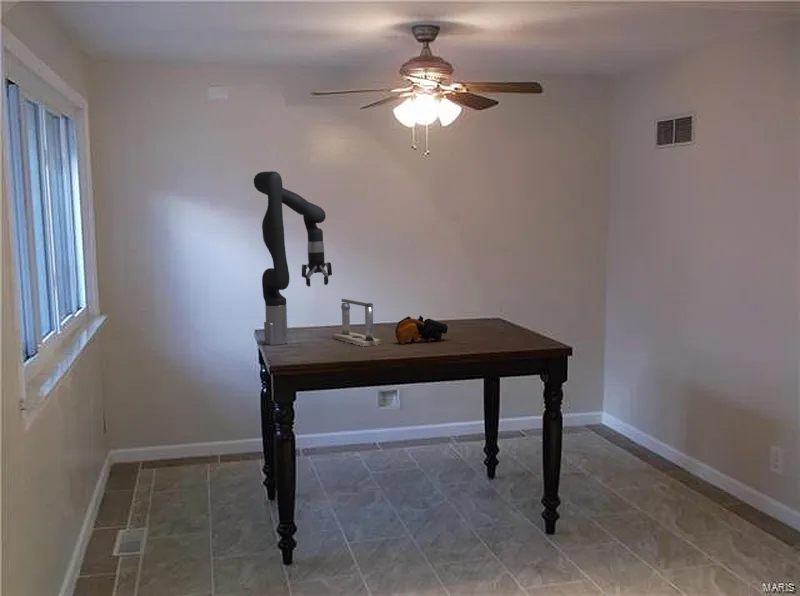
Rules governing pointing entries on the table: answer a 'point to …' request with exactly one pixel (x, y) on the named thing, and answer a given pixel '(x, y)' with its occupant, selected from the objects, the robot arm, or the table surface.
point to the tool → (419, 329)
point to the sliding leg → (345, 318)
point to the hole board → (357, 339)
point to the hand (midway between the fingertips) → (317, 285)
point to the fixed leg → (367, 317)
